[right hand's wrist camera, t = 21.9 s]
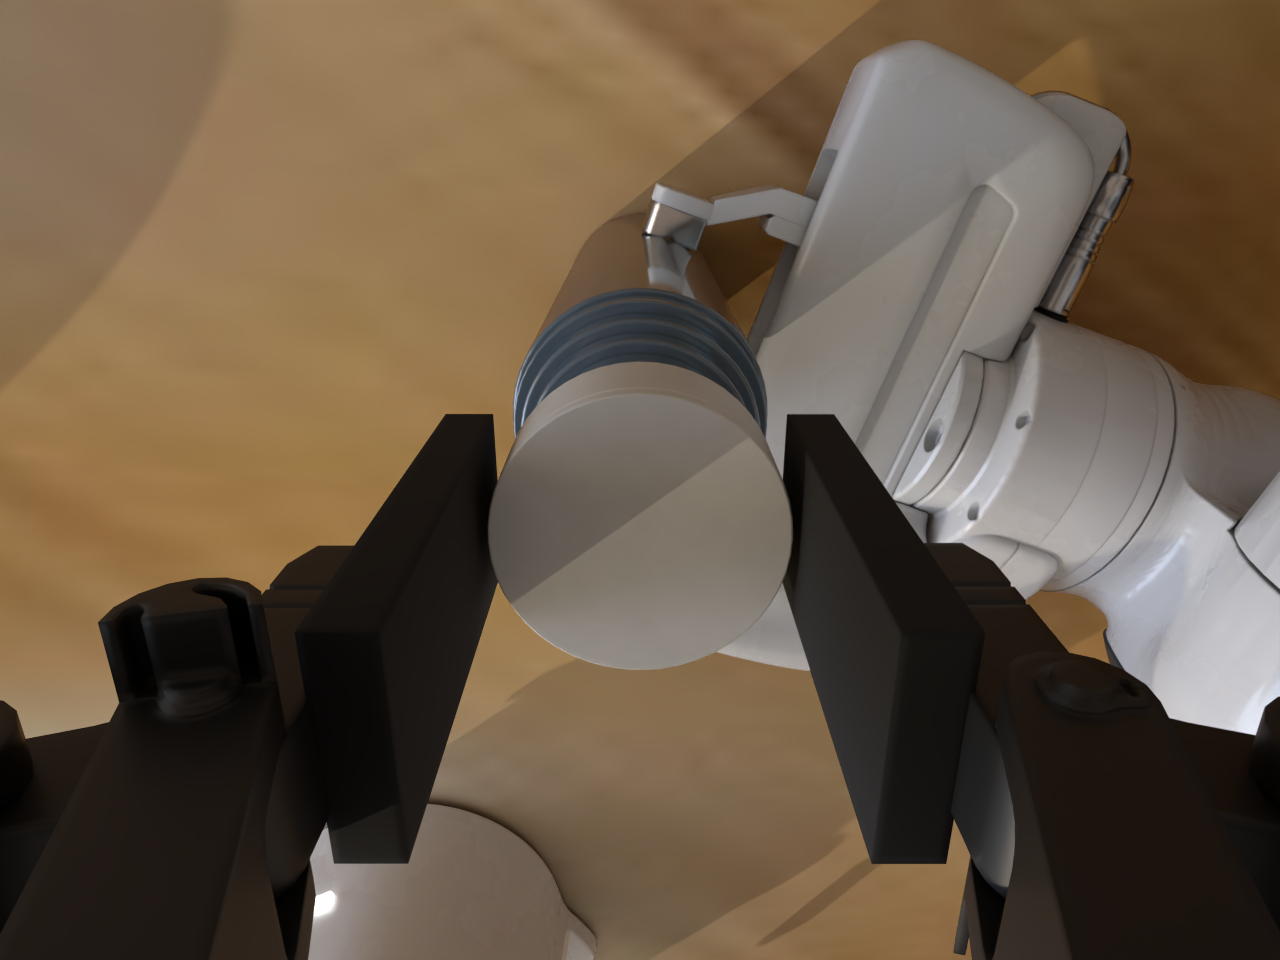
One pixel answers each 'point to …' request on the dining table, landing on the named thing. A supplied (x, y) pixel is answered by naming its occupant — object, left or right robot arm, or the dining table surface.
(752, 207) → the left robot arm
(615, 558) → the cap
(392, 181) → the dining table surface
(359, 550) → the right robot arm
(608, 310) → the bottle
